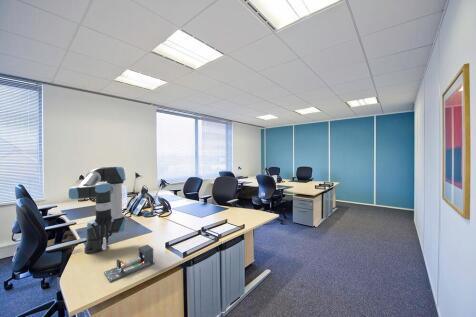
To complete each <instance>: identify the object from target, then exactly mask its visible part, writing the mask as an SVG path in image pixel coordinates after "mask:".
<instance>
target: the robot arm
mask: <svg viewBox="0 0 476 317" xmlns="http://www.w3.org/2000/svg"><path fill="white" fill-rule="evenodd" d="M126 179H127V178H126V172H125V169H124V167H123V166H108V167H107V166H106V167H104V166H101V167H97V168H94V169H92V170H90V171H89V172H87V173H86V175H85V178H84V179H83V180H82V181H81V182H80V184H79V185H78V186H70V187H69V188H68V198H69V199H70V200H85V199H94V198H95V219H91V220H90V221H88V222H87V224H86V243H85V246H84V253H85V254H95V253H100V252H102V251H105V250H107V248H108V247H109V237H112V235H113V234H119V233H122V232H124V231H125V230H126V224H127V217H125V214H124V213H123V197H122V196H123V195H122V194H123V193H122V191H123V190H122V185H123V184H124V182H125V181H126Z"/></svg>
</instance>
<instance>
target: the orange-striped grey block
mask: <svg viewBox="0 0 476 317" xmlns="http://www.w3.org/2000/svg"><path fill="white" fill-rule="evenodd" d="M115 262H116V267H118V269H119V270H120V271H123V269H124V268H126V267H129V266H132V265H134V264H137V263H139V262H141V259H140V258H139V257H136V258H134V259H131V260H128V261H126V262H124V261H123V260H120V259H116V261H115Z"/></svg>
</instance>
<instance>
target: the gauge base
mask: <svg viewBox="0 0 476 317" xmlns="http://www.w3.org/2000/svg"><path fill="white" fill-rule="evenodd" d="M138 258H140V259H141V262H139V263H137V264H134V265H132V266H129V267H126V268H124V269H123V271H120V270H119V269H118V267H117V266H116V267H114V268H111V269H108V270H106V271H103V274H104V276H105V277H106V278H107V280H108V282H109V283H112V282H114V281H117V280H121V279H123V278H124V277H127V276H130V275H132V274H134V273H137V272H139V271H141V270H144V269H146V268H149V267H151V266H154V265H155V264H156V263H155V261H154V248H153V247H152V246H151V245H149V244H145V245H142V246H139V247H138Z"/></svg>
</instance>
